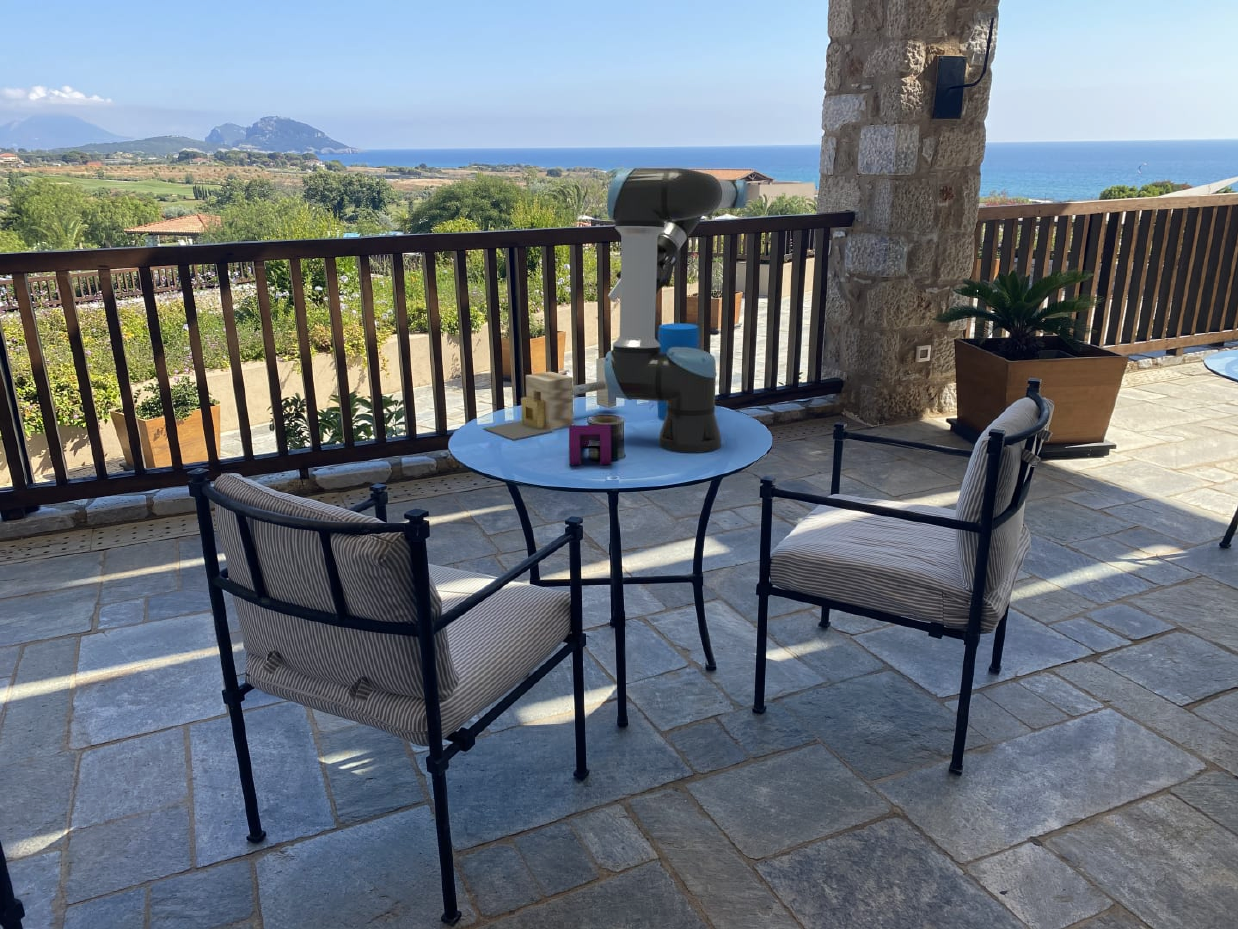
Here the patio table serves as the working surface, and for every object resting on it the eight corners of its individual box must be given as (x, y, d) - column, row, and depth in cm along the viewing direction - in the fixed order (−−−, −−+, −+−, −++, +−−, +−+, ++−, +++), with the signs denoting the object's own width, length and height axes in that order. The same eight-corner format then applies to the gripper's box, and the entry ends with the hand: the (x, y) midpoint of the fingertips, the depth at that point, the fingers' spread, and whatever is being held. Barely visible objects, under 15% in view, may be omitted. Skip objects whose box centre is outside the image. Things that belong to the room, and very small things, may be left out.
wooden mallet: (605, 402, 249) (604, 357, 245) (616, 406, 245) (616, 360, 242) (540, 415, 235) (538, 368, 231) (551, 419, 232) (549, 371, 228)
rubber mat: (521, 421, 237) (521, 420, 237) (552, 432, 227) (552, 430, 227) (483, 429, 230) (483, 428, 230) (513, 440, 220) (513, 439, 220)
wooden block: (551, 418, 241) (550, 371, 237) (573, 425, 234) (572, 377, 230) (527, 422, 236) (525, 375, 232) (549, 430, 229) (547, 381, 225)
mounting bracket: (572, 473, 214) (568, 462, 196) (571, 439, 215) (568, 425, 197) (610, 472, 214) (611, 462, 196) (610, 438, 215) (610, 424, 198)
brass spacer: (529, 422, 235) (528, 396, 233) (545, 428, 230) (544, 401, 227) (522, 424, 233) (520, 397, 231) (537, 429, 228) (536, 402, 226)
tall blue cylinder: (659, 411, 247) (660, 322, 240) (697, 413, 246) (699, 323, 238) (655, 421, 237) (656, 329, 229) (695, 422, 236) (697, 329, 228)
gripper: (705, 254, 241) (664, 314, 236) (645, 250, 259) (605, 305, 254) (692, 235, 236) (650, 295, 231) (631, 232, 254) (591, 288, 249)
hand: (626, 301), depth 243 cm, fingers open, 13 cm apart
